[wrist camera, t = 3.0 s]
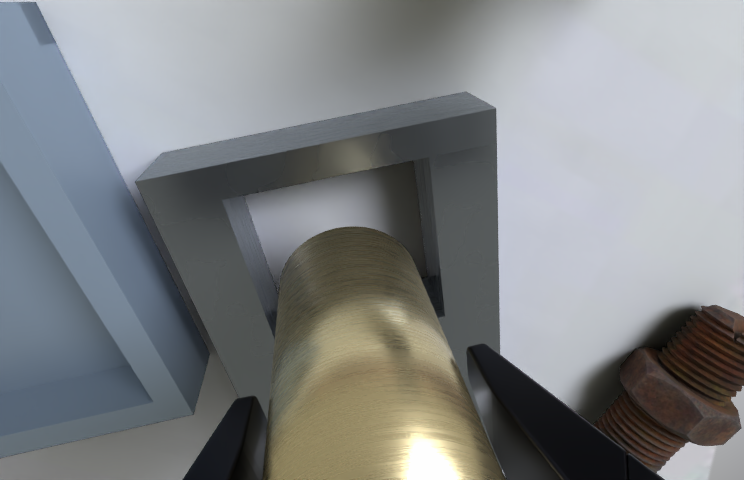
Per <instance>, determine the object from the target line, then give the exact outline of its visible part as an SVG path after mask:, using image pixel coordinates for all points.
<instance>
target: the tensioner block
mask: <svg viewBox="0 0 744 480" xmlns="http://www.w3.org/2000/svg"><path fill="white" fill-rule="evenodd" d="M412 160H414V167H415V176H416V184H417V192H418V201H419V209H420V217H421V226H422V234H423V243H424V251H425V259H426V268H427V276H428V277H426V278H421V280H422V282H423V285H424V287H425V289H426V292H427V294H428V296H429V299H430V301H431V304H432V306H433V308H434V311H435V313H436V316H437V318H438V320H439V323H440V325H441V327H442V330H443V332H444V335H445V337H446V339H447V342H448V344H449V346H450V349H451V351H452V354H453V356H454V358H455V361H456V363H457V365H458V368H459V370H460V373H461V375H462V377H463V380H464V382H465V384H466V387H467V389H468V392H469V394H470V396H471V399H472V401H473V404H474V406H475V408H476V411H477V413H478V415H479V418H480V420H481V423H482V425H483V427H484V430H485V432H486V434H487V437H488V439H489V436H488V433H487V430H486V427H485V425H484V422H483V419H482V416H481V413H480V410H479V407H478V404H477V401H476V399H475V396H474V393H473V390H472V387H471V384H470V381H469V377H468V369H467V355H466V350H467V348H468V347H469V346H473V345H477V344H482V343H484V344H487V345H488V346H489V347H491V348H492V349H493V350H495V351H496V352H497V353H499V354H500V325H499V261H498V197H497V133H496V108H495V107H493V106H491V105H489V104H488V103H486V102H484V101H482V100H480V99H479V98H477V97H475V96H473V95H471V94H470V93H468V92H462V93H457V94H453V95H448V96H443V97H438V98H433V99H428V100H423V101H418V102H413V103H408V104H403V105H398V106H393V107H388V108H383V109H378V110H373V111H368V112H363V113H358V114H353V115H348V116H343V117H338V118H334V119H329V120H324V121H319V122H314V123H309V124H304V125H299V126H294V127H289V128H284V129H279V130H274V131H269V132H264V133H259V134H254V135H249V136H244V137H239V138H234V139H229V140H224V141H219V142H215V143H210V144H205V145H200V146H195V147H190V148H185V149H180V150H175V151H170V152H165V153H162V154H161V155H160V156H159V157H158V158H157V159H156V160H155V161H154V162H153V163H152V164H151V165H150V166H149V168H148V169H147V170H146V171H145V172H144V173H143V174H142V175H141V176H140V177H139V178H138V179H137V180H136V181H135V183H136V185H137V187H138V189H139V191H140V193H141V195H142V197H143V199H144V201H145V203H146V206H147V208H148V210H149V212H150V214H151V216H152V218H153V220H154V222H155V224H156V226H157V228H158V230H159V233H160V235H161V237H162V239H163V241H164V243H165V245H166V247H167V249H168V251H169V253H170V255H171V258H172V260H173V262H174V264H175V266H176V268H177V270H178V272H179V274H180V276H181V278H182V280H183V282H184V285H185V287H186V289H187V291H188V293H189V295H190V297H191V299H192V301H193V303H194V305H195V307H196V310H197V312H198V314H199V316H200V318H201V320H202V322H203V324H204V326H205V328H206V330H207V332H208V335H209V337H210V339H211V341H212V343H213V345H214V347H215V349H216V351H217V353H218V355H219V357H220V359H221V362H222V364H223V366H224V368H225V370H226V372H227V374H228V376H229V378H230V380H231V382H232V384H233V387H234V389H235V391H236V393H237V395H238V397H239V398H242V397H247V396H251V395H254V396H256V397H257V399H258V401H259V403H260V405H261V407H262V409H263V412H264V414H265V416H266V418H267V422H268V410H269V399H270V388H271V377H272V365H273V354H274V343H275V331H276V320H277V309H278V298H279V296H278V293H277V291H276V288H275V285H274V282H273V279H272V276H271V273H270V270H269V267H268V265H267V262H266V259H265V256H264V253H263V250H262V247H261V244H260V242H259V239H258V236H257V233H256V230H255V227H254V224H253V221H252V219H251V216H250V213H249V210H248V207H247V204H246V201H245V198H244V196H243V195H248V194H253V193H258V192H263V191H267V190H272V189H277V188H282V187H287V186H292V185H296V184H301V183H306V182H311V181H316V180H321V179H325V178H330V177H335V176H340V175H345V174H350V173H354V172H359V171H364V170H369V169H374V168H379V167H383V166H388V165H393V164H398V163H403V162H408V161H412ZM489 442H490V439H489ZM490 444H491V442H490ZM491 446H492V444H491ZM492 449H493V447H492ZM493 451H494V450H493ZM494 453H495V452H494ZM495 456H496V454H495ZM496 458H497V456H496ZM497 461H498V459H497ZM498 463H499V461H498ZM499 465H500V463H499ZM500 468H501V470H502V467H501V465H500Z"/></svg>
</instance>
